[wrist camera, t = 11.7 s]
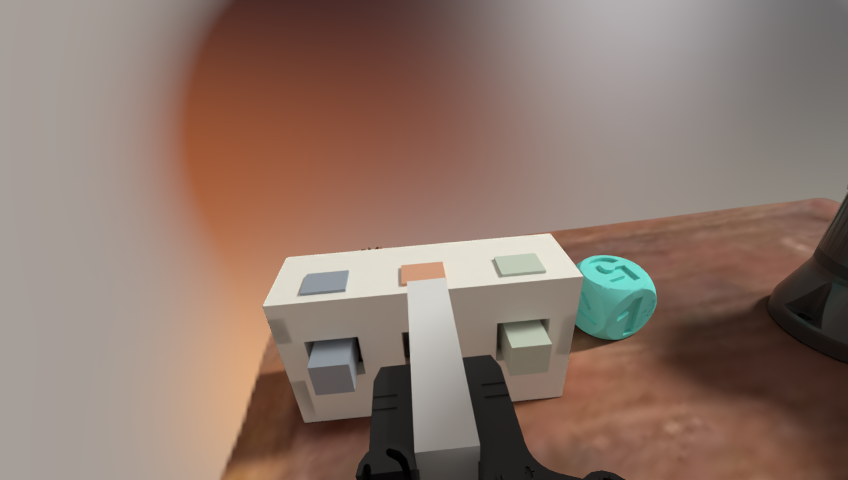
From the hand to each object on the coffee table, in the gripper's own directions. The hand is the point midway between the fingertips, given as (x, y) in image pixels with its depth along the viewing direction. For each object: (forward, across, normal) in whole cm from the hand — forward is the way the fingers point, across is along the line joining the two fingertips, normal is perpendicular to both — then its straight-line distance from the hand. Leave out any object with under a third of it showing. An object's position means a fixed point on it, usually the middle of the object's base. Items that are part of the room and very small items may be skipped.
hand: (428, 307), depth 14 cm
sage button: (+14, +9, -19) cm, 25 cm away
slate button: (+14, -9, -19) cm, 25 cm away
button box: (+18, 0, -26) cm, 32 cm away
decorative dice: (+25, +24, -27) cm, 44 cm away
